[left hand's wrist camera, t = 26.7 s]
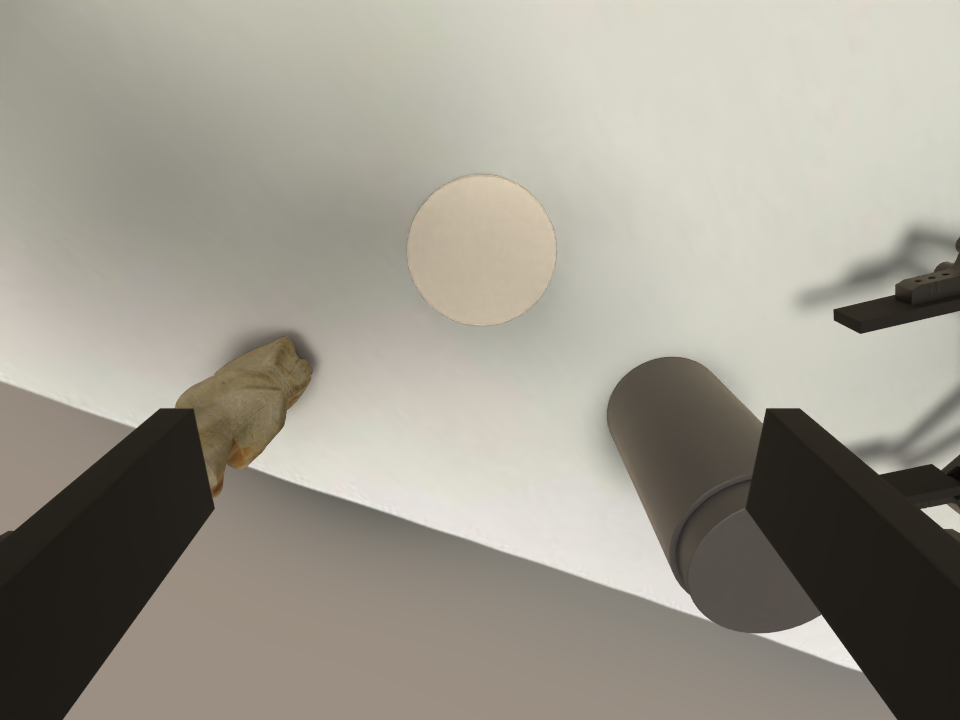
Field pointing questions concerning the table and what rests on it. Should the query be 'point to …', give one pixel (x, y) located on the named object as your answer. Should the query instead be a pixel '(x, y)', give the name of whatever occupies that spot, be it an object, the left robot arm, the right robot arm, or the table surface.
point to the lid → (481, 250)
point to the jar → (704, 493)
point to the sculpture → (245, 405)
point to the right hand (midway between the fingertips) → (847, 415)
